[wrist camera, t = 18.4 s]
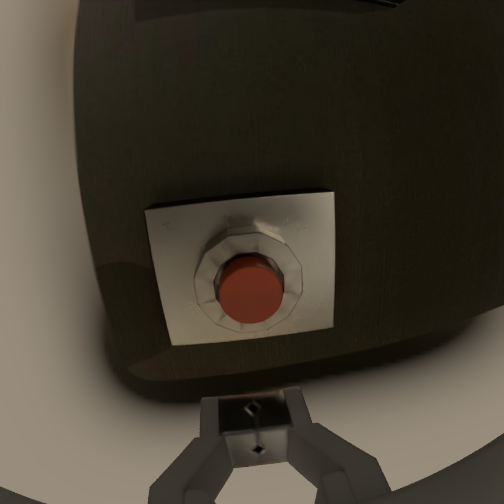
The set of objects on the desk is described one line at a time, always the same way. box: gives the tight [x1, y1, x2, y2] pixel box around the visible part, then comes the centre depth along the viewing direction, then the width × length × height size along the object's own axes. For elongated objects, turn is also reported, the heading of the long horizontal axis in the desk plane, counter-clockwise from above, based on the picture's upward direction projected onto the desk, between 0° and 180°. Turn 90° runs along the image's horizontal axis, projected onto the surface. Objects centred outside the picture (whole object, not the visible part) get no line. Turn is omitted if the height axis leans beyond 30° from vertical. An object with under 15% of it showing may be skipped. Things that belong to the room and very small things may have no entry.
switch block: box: [144, 187, 335, 346], centre depth 20 cm, size 12×10×4 cm
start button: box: [219, 256, 283, 324], centre depth 18 cm, size 4×4×2 cm
